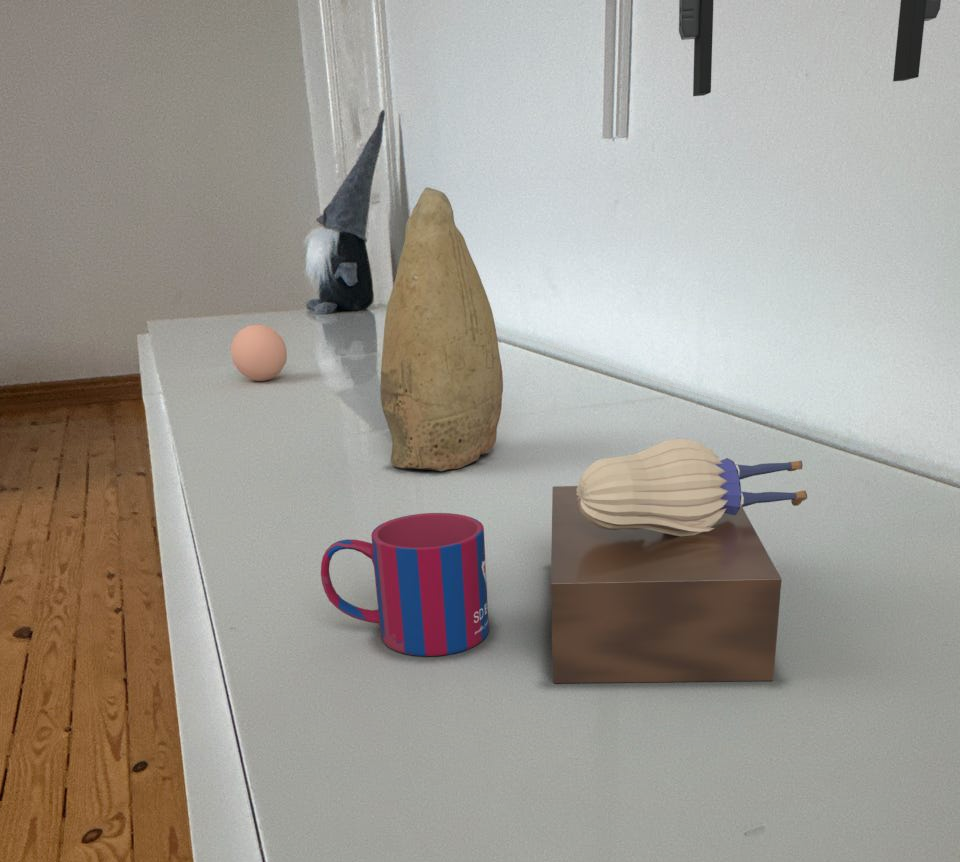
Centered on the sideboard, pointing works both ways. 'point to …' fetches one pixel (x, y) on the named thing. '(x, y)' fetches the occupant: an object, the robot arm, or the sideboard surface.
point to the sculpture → (439, 348)
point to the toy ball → (258, 352)
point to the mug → (423, 583)
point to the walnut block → (660, 601)
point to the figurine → (671, 489)
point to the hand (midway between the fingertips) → (803, 87)
